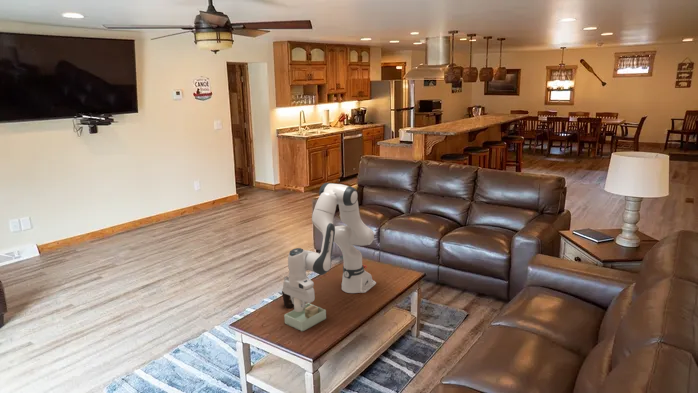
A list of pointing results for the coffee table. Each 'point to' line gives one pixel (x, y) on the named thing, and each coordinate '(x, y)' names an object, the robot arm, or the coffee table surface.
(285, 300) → the coffee mug
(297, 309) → the ceramic cylinder
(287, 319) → the tray
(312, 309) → the beech cube
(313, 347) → the coffee table surface
